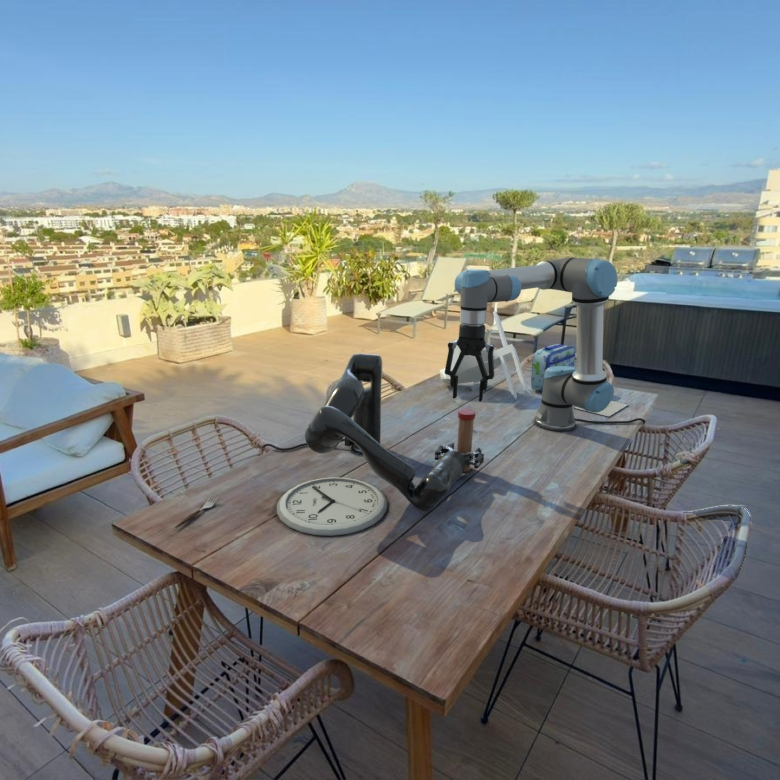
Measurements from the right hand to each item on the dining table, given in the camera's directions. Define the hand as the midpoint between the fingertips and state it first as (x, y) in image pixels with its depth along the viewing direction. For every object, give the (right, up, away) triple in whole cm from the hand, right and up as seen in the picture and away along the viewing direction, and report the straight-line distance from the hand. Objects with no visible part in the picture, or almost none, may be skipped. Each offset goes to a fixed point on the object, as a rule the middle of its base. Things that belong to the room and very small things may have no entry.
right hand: (467, 398), depth 159 cm
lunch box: (+54, +3, +92) cm, 107 cm away
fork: (-74, -30, -22) cm, 83 cm away
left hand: (0, -16, +7) cm, 17 cm away
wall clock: (-39, -29, -16) cm, 51 cm away
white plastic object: (+18, +1, +84) cm, 86 cm away
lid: (0, -4, +1) cm, 5 cm away
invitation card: (+68, -5, +67) cm, 96 cm away
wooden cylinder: (0, -22, +7) cm, 23 cm away
